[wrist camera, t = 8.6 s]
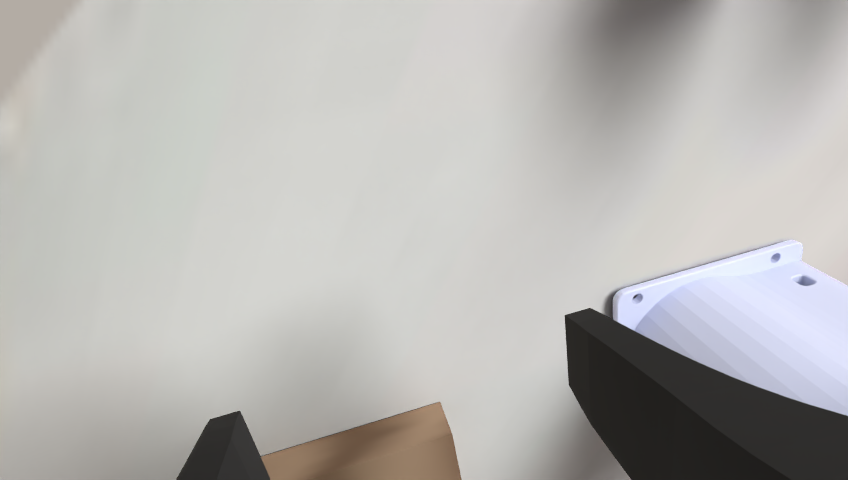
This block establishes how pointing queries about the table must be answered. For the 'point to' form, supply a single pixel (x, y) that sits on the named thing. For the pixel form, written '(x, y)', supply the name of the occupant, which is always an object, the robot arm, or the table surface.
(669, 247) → the table surface
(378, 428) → the walnut base
